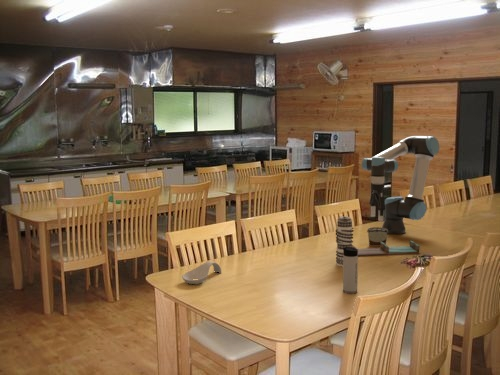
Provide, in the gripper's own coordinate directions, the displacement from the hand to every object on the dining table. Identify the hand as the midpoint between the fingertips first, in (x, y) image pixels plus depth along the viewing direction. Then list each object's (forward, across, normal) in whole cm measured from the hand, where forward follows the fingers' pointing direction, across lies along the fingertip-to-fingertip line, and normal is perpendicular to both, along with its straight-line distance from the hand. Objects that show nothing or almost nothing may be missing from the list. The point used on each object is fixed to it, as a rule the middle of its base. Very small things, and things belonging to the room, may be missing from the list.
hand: (376, 218), depth 298 cm
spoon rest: (+18, +49, -103) cm, 115 cm away
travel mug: (+17, +76, -39) cm, 87 cm away
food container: (+16, 0, 0) cm, 16 cm away
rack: (+16, +17, -1) cm, 23 cm away
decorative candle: (+16, +36, -30) cm, 49 cm away
